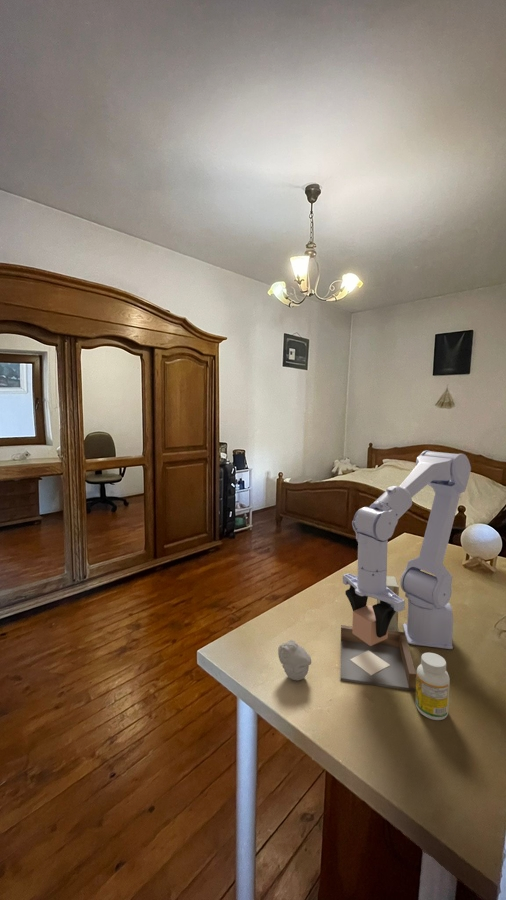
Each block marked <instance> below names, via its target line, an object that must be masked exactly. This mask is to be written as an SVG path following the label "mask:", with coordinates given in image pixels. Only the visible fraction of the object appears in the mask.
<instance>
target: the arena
mask: <svg viewBox="0 0 506 900" xmlns="http://www.w3.org/2000/svg"><path fill="white" fill-rule="evenodd" d="M352 628H353V625H345V624H344V625H343V624H341V625H340V679H339V681H344V682H351V683H357V684H362V685H363V684H364V685H365V684H366V685H371V686H378V687H383V688H391V689H399V690H404V691H410V692H416V676H417V671H416V669H415V665H414V663H413V658H412V655H411V651H410V647H409V643H408V642H407V638H406V635H405V631H398V632H397V631H389V630H388V638H387V639H385V640H383V641H381V642H378V643H376V644H374V645H372V646H370V645H368V644H367V643H365V642H364V641H363V640H361V639H360V638H358V637H357V636H355V635H354V634H353V633H352Z"/></svg>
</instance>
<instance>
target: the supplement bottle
mask: <svg viewBox="0 0 506 900" xmlns="http://www.w3.org/2000/svg"><path fill="white" fill-rule="evenodd" d="M450 681H451V679H450V675H449V673H448V671H447V661H446V659H445V658H444V657H443V656H441V655H439V654H437V653H434V652H424V653H422V654H421V657H420V664H419V665H418V666H417V668H416V690H415V706H416V708H417V710H418V712H419V713H420V714H421V715H423V716H424V717H426V718H428V719H430V720H432V721H441V720H442V721H443V720H445V719H446V718H447V717H448V715H449V703H450V702H449V701H450V699H449V697H450V683H451V682H450Z"/></svg>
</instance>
